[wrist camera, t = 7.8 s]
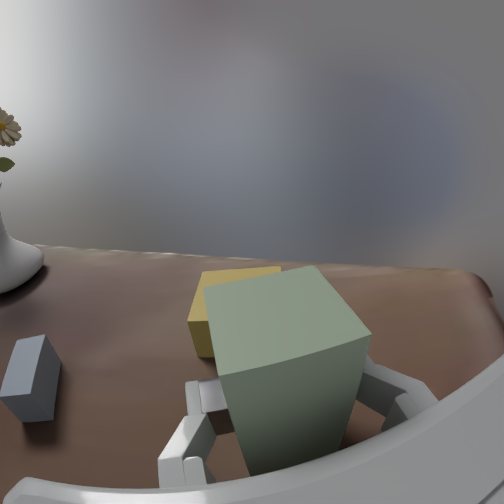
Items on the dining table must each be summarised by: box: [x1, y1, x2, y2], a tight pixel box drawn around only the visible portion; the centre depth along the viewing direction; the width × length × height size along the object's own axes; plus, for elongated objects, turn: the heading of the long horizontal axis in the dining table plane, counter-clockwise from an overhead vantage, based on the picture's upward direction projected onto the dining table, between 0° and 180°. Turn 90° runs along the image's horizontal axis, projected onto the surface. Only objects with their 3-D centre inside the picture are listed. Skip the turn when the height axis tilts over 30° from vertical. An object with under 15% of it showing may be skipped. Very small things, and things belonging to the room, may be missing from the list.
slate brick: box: [0, 334, 61, 422], centre depth 15 cm, size 6×3×3 cm, turn 21°
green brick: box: [203, 265, 372, 477], centre depth 10 cm, size 4×4×9 cm
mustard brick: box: [187, 266, 281, 357], centre depth 21 cm, size 6×6×4 cm
